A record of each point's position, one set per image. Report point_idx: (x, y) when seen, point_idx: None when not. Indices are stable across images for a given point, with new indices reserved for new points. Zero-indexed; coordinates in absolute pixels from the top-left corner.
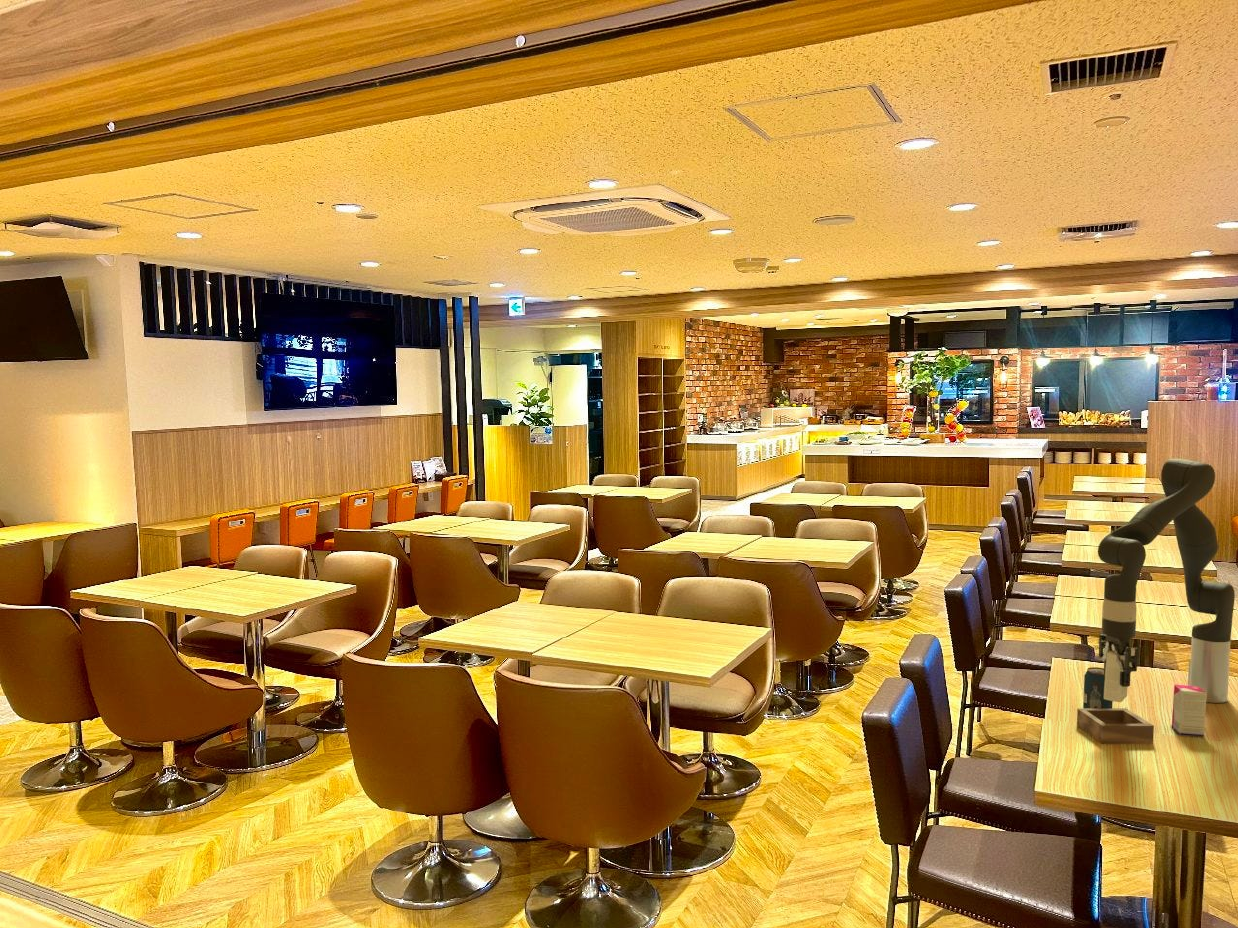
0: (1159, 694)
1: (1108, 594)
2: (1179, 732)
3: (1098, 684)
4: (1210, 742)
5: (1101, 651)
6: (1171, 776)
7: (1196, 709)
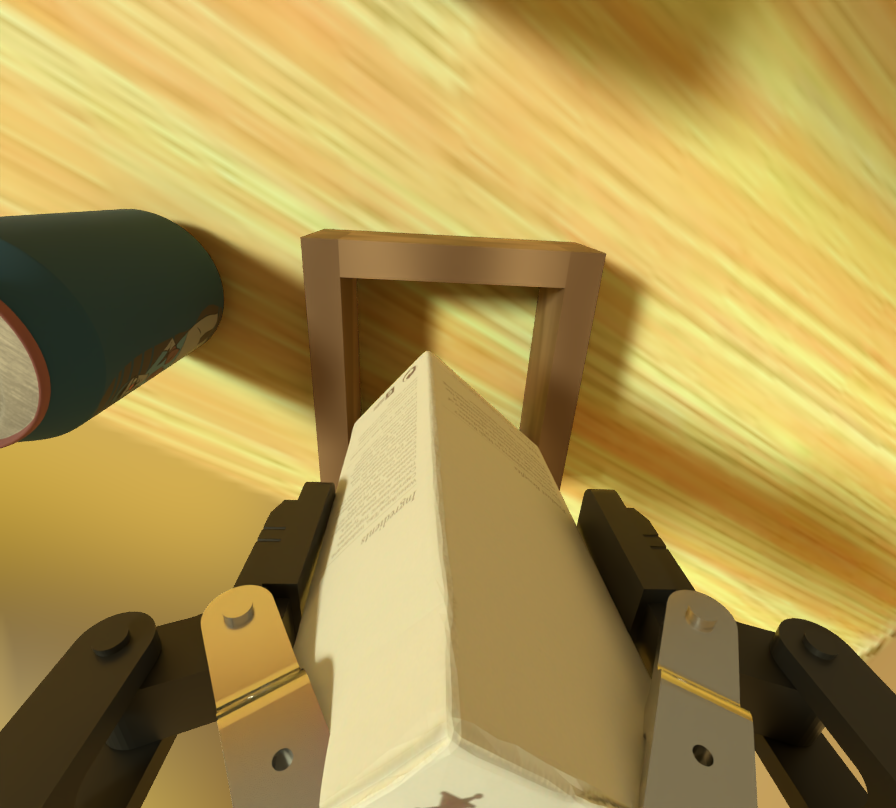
0: None
1: None
2: None
3: (124, 381)
4: None
5: (145, 795)
6: (870, 382)
7: None
